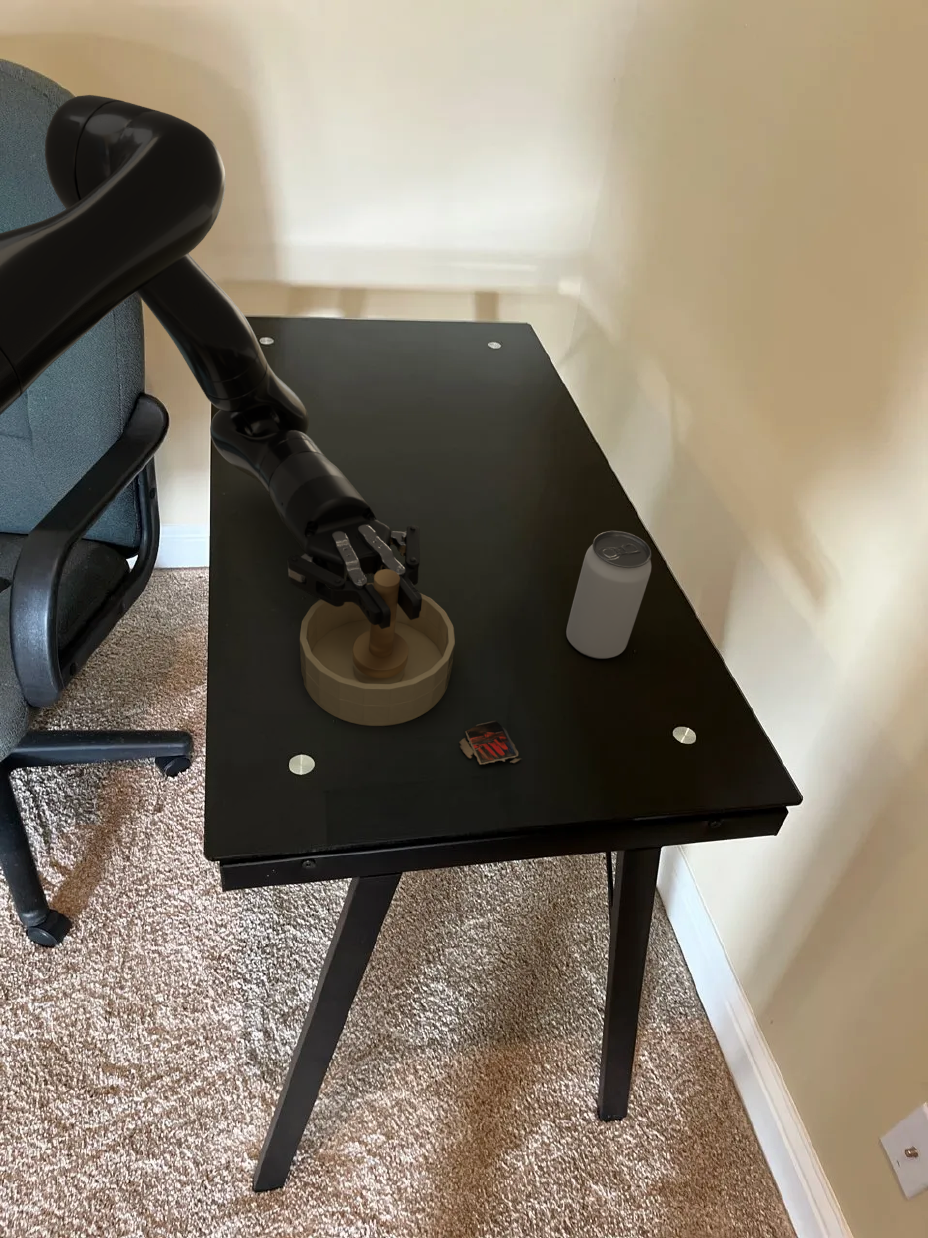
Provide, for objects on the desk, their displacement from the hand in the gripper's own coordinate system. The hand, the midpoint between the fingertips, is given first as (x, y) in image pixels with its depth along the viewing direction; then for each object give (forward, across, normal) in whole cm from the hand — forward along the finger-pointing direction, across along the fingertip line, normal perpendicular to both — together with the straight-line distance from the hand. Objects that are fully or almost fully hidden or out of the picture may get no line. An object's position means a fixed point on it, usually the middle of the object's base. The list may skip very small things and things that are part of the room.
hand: (401, 615), depth 70 cm
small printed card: (+9, +5, +11) cm, 15 cm away
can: (+1, +23, +11) cm, 25 cm away
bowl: (-4, 0, +11) cm, 12 cm away
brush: (-3, 0, +10) cm, 11 cm away
